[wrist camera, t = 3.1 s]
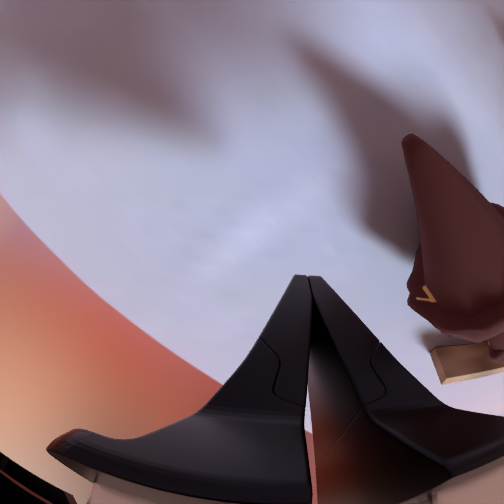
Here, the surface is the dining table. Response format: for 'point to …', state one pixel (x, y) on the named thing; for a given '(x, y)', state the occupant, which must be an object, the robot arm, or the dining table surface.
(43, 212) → the dining table surface
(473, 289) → the icecream
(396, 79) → the dining table surface
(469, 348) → the holder
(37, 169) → the dining table surface
